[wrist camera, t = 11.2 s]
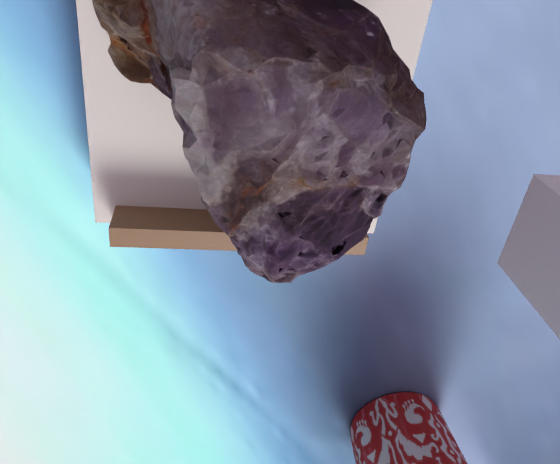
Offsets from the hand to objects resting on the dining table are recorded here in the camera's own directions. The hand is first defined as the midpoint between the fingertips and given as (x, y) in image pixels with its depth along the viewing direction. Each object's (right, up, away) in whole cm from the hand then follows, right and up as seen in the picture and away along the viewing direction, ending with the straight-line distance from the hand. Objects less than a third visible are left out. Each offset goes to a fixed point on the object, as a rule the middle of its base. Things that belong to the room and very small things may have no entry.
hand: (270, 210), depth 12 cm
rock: (0, +6, +10) cm, 12 cm away
